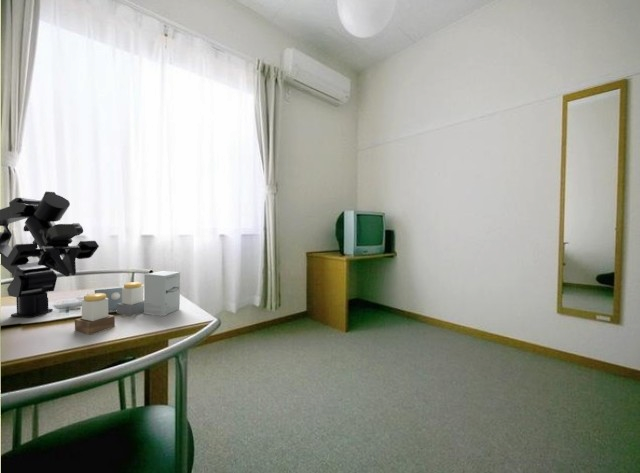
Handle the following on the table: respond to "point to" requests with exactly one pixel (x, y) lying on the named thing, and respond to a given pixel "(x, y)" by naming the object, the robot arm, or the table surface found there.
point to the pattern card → (112, 296)
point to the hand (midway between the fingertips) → (71, 274)
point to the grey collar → (130, 308)
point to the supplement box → (161, 292)
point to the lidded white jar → (94, 307)
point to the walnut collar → (94, 325)
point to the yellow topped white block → (132, 293)
